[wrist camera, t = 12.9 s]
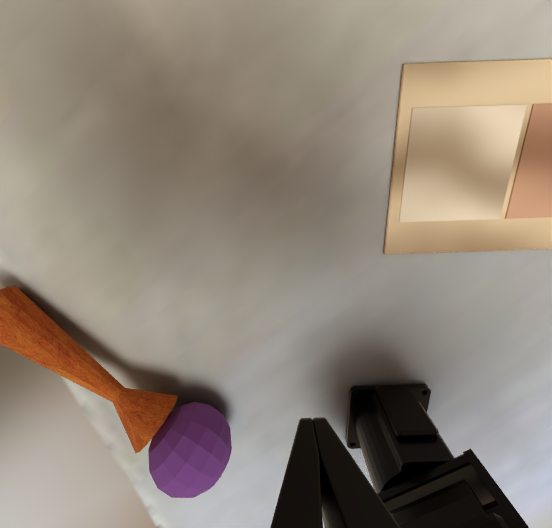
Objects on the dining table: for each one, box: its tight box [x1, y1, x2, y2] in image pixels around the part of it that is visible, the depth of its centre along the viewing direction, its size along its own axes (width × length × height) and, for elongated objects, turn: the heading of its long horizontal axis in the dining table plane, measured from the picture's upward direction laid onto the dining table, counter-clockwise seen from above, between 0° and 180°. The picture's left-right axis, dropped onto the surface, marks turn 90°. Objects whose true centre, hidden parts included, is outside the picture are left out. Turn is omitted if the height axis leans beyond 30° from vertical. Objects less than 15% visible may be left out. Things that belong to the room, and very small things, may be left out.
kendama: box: [0, 287, 232, 498], centre depth 19 cm, size 6×6×20 cm
